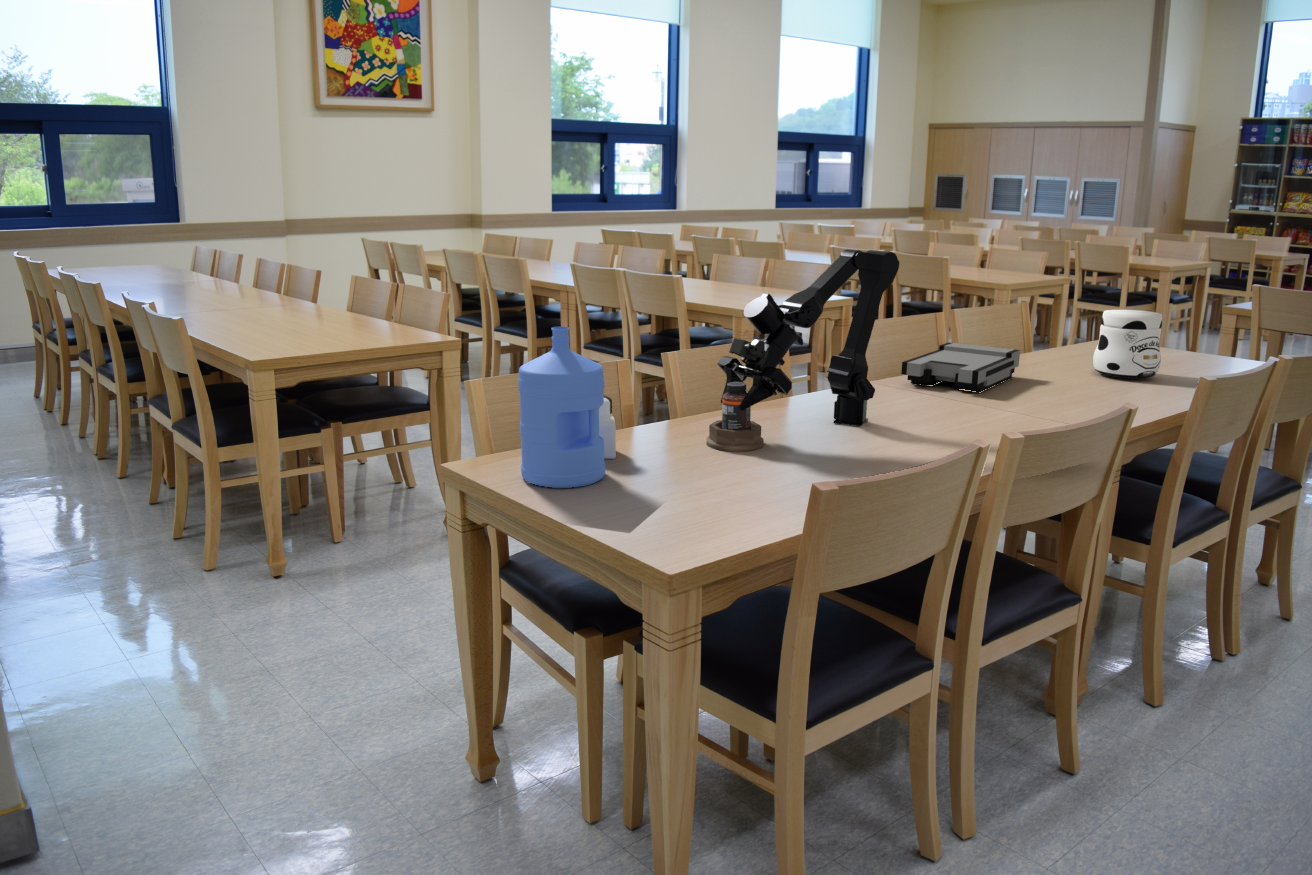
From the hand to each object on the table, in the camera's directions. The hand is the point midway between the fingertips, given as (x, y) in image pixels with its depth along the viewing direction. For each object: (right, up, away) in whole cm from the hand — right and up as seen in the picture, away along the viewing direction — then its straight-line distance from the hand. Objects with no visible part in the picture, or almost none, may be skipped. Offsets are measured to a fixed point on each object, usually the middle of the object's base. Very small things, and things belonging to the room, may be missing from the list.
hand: (731, 406), depth 201 cm
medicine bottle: (-28, -10, -5) cm, 30 cm away
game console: (+68, +8, +66) cm, 95 cm away
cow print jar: (+118, +11, +75) cm, 140 cm away
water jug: (-33, -14, -20) cm, 41 cm away
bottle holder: (+1, -8, +3) cm, 8 cm away
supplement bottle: (+1, -6, +3) cm, 7 cm away
